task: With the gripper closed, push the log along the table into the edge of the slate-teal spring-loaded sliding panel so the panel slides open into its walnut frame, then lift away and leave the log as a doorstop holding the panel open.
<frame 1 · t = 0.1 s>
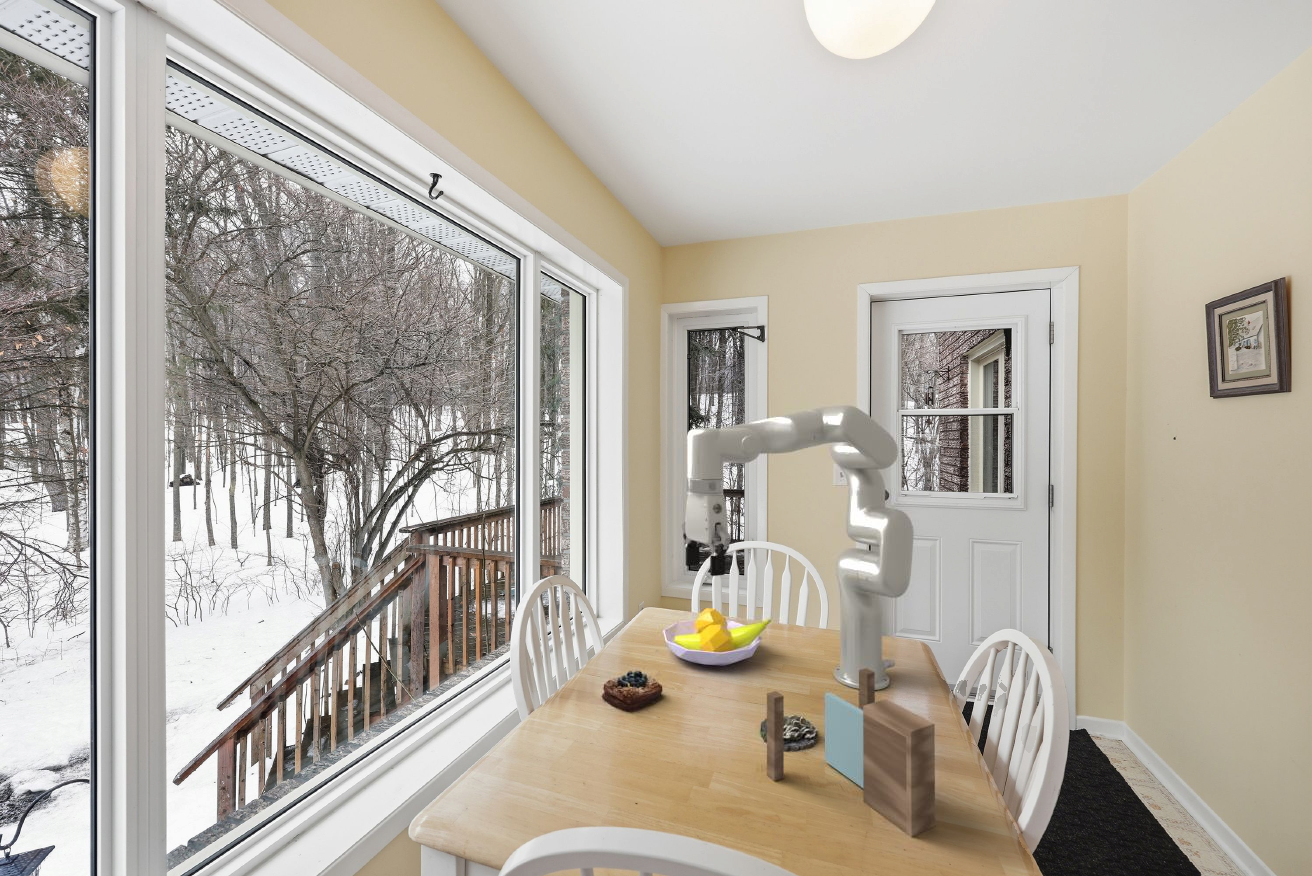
hand: (704, 570, 112), 31 cm above the table, tool pointing down, fingers open, 9 cm apart
pastry: (632, 699, 122), on the table
fruit bowl: (715, 657, 146), on the table
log: (788, 738, 106), on the table
door panel: (848, 739, 93), point 7 cm above the table, slide at 0.0 cm
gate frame: (860, 786, 90), on the table
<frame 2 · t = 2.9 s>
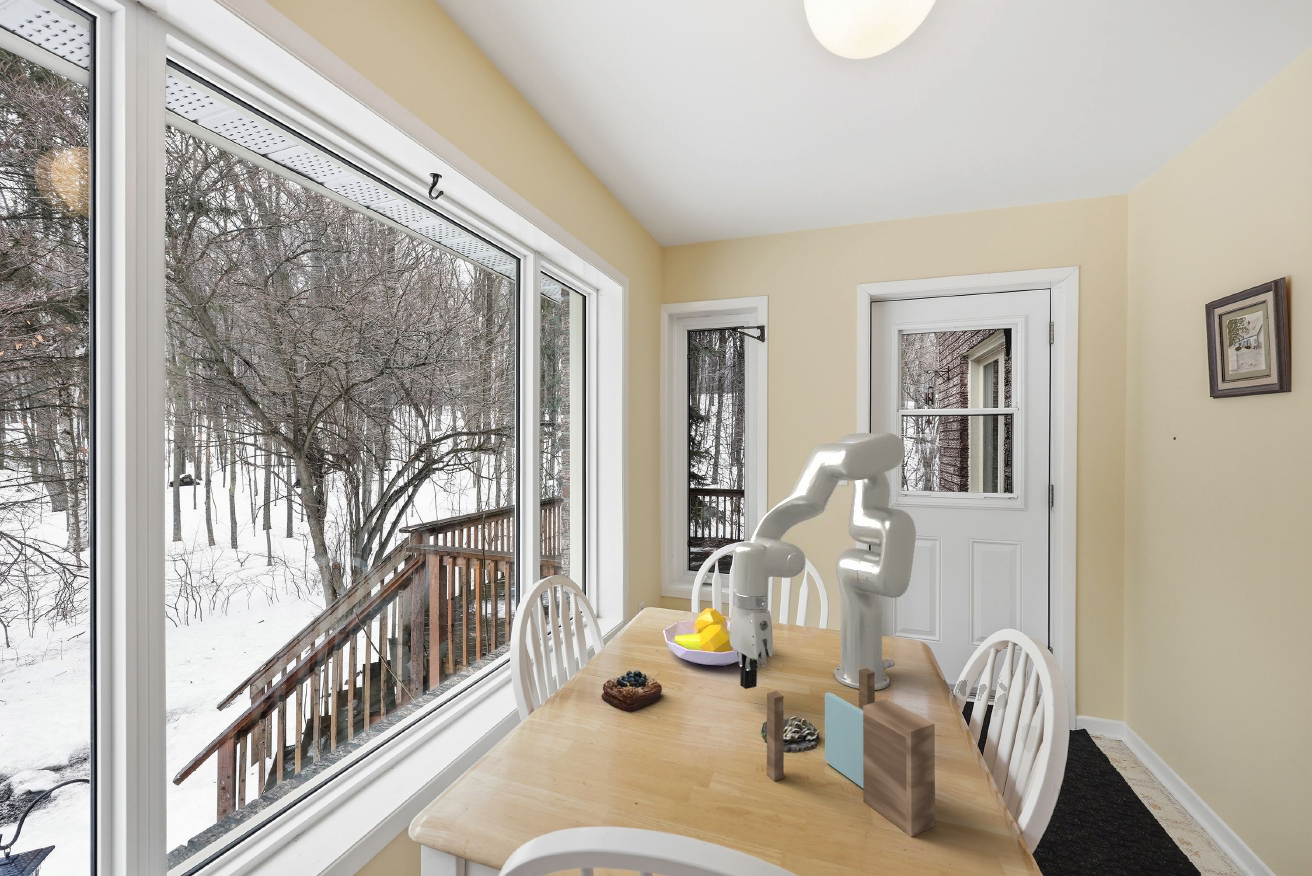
hand: (748, 686, 117), 5 cm above the table, tool pointing down, fingers closed
nothing on the table moved.
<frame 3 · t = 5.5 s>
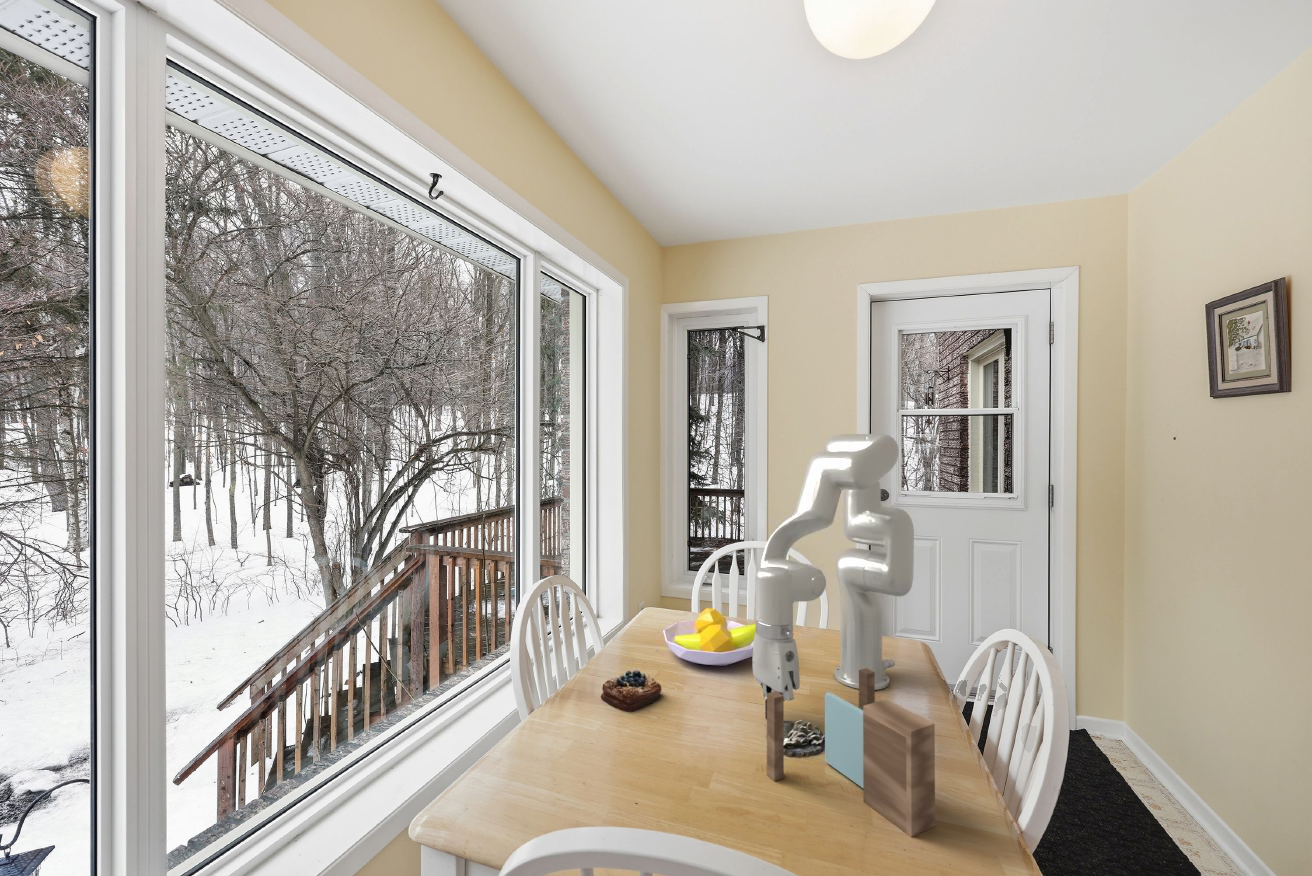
hand: (774, 719, 110), 1 cm above the table, tool pointing down, fingers closed
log: (795, 743, 104), on the table
everything else where it was.
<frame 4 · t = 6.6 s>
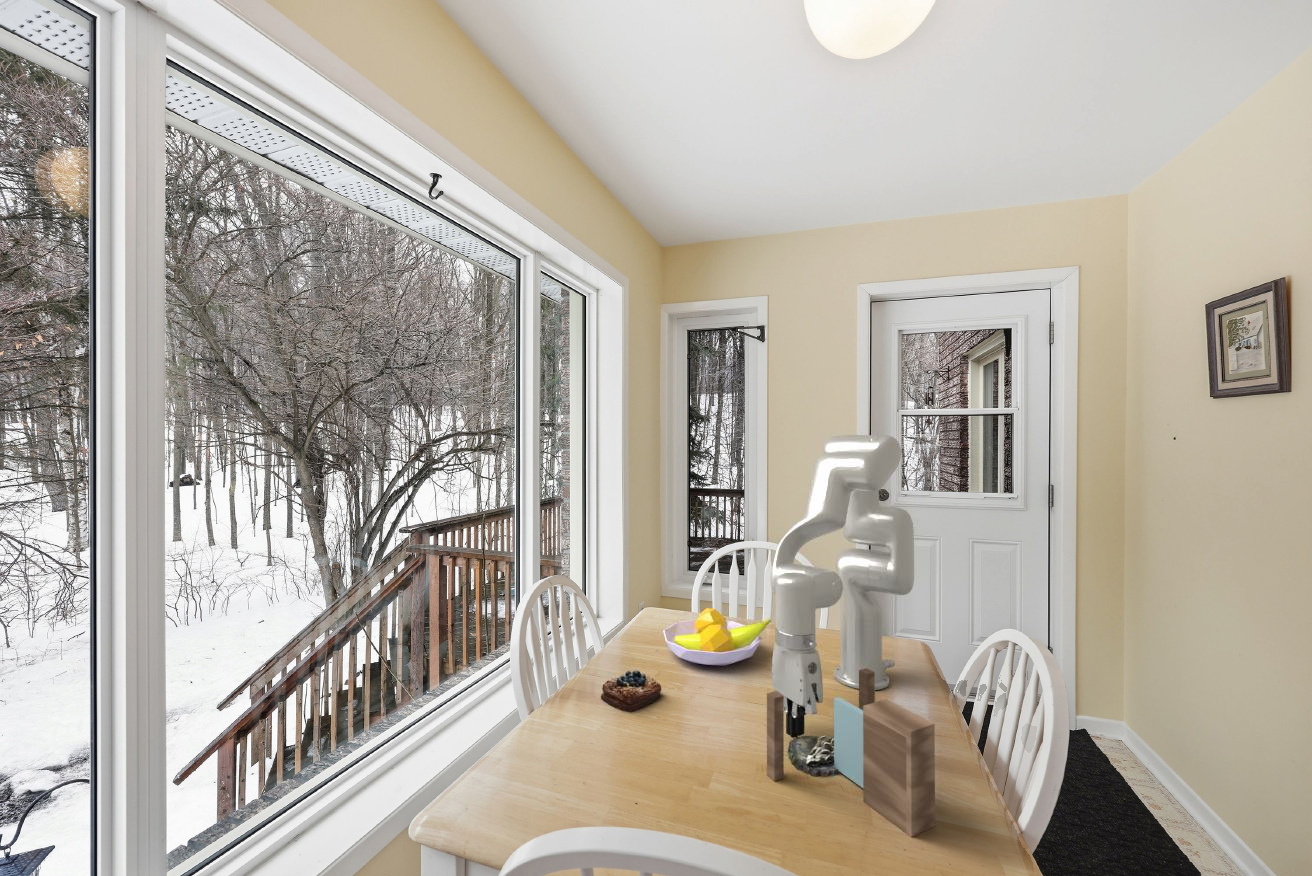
hand: (795, 734, 104), 1 cm above the table, tool pointing down, fingers closed
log: (818, 760, 99), on the table
door panel: (858, 746, 91), point 7 cm above the table, slide at 2.2 cm
everything else where it was.
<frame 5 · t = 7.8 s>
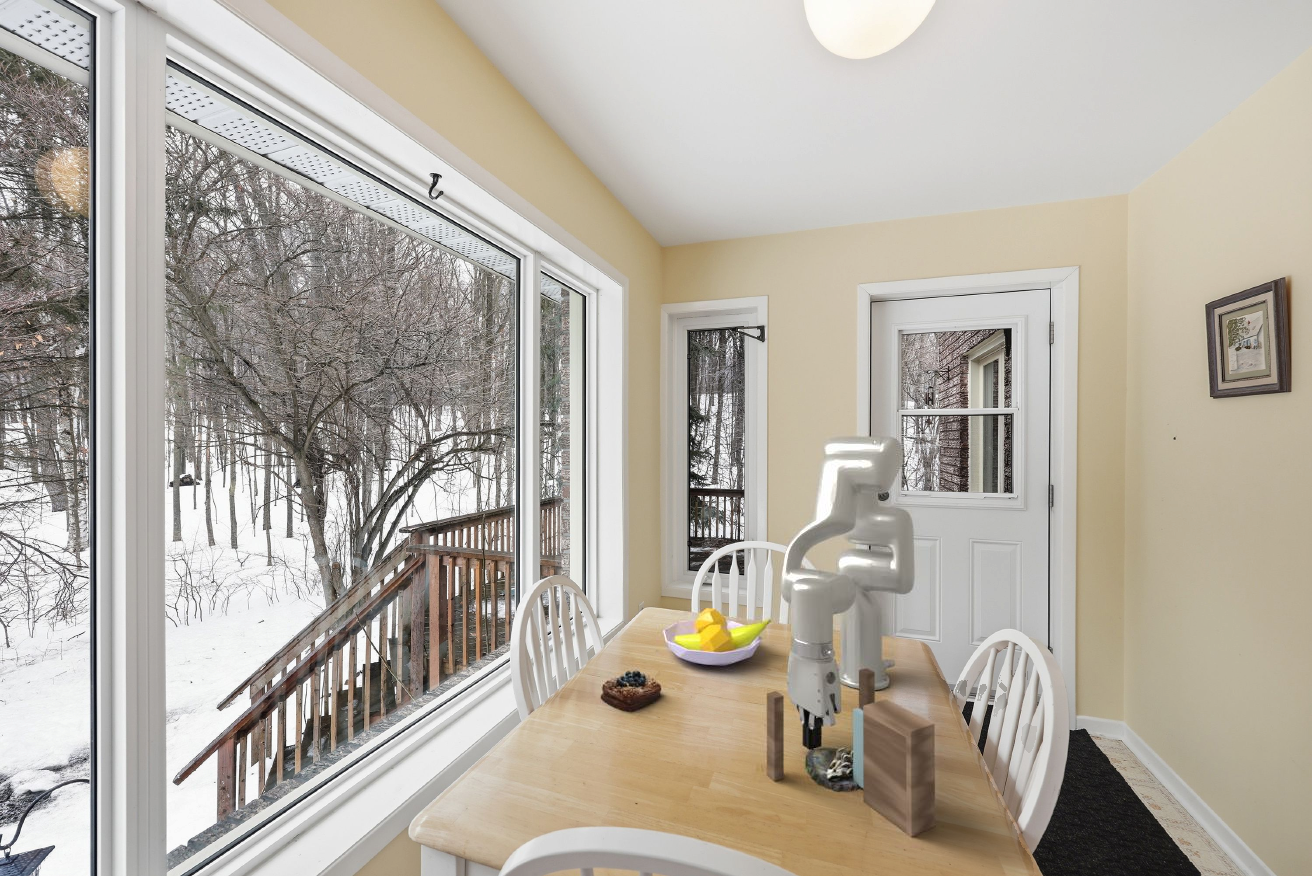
hand: (812, 745, 100), 1 cm above the table, tool pointing down, fingers closed
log: (837, 774, 95), on the table, touching gripper
door panel: (880, 759, 87), point 7 cm above the table, slide at 6.5 cm
everything else where it was.
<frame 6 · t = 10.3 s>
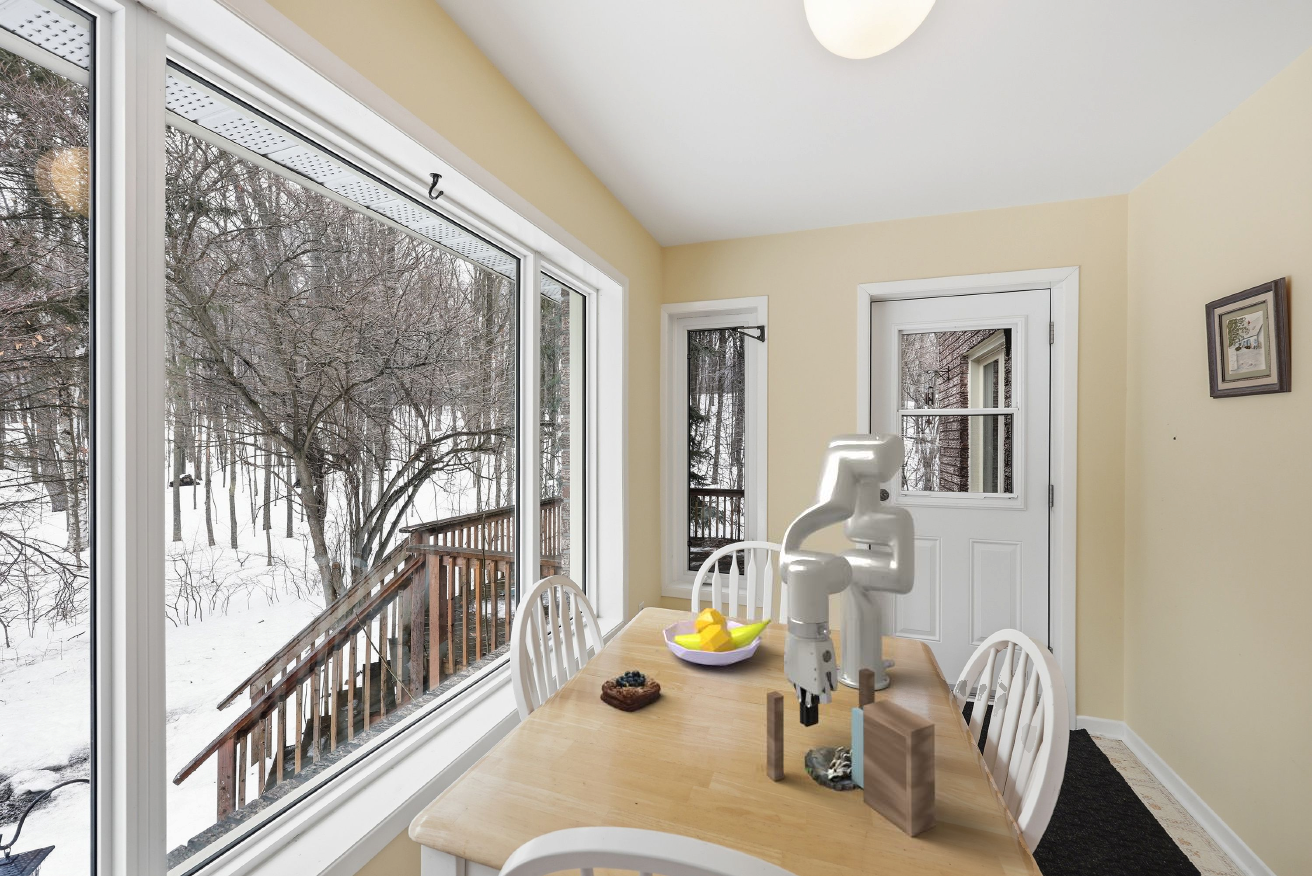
hand: (809, 723, 102), 4 cm above the table, tool pointing down, fingers closed
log: (836, 773, 95), on the table, touching door panel
door panel: (878, 758, 87), point 7 cm above the table, slide at 6.2 cm, touching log
everything else where it was.
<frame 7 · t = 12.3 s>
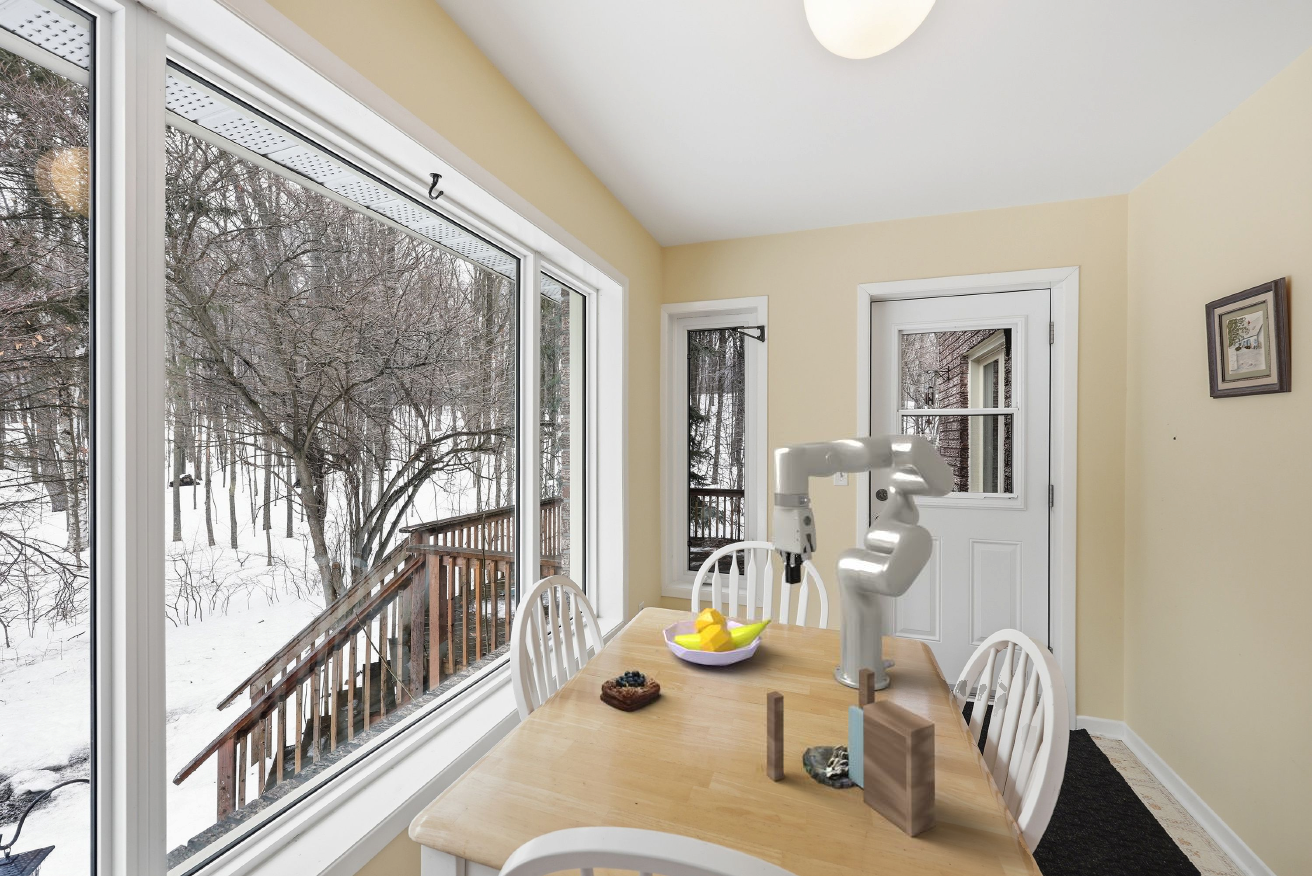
hand: (793, 582, 121), 26 cm above the table, tool pointing down, fingers closed
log: (834, 771, 95), on the table
door panel: (875, 756, 88), point 7 cm above the table, slide at 5.6 cm
everything else where it was.
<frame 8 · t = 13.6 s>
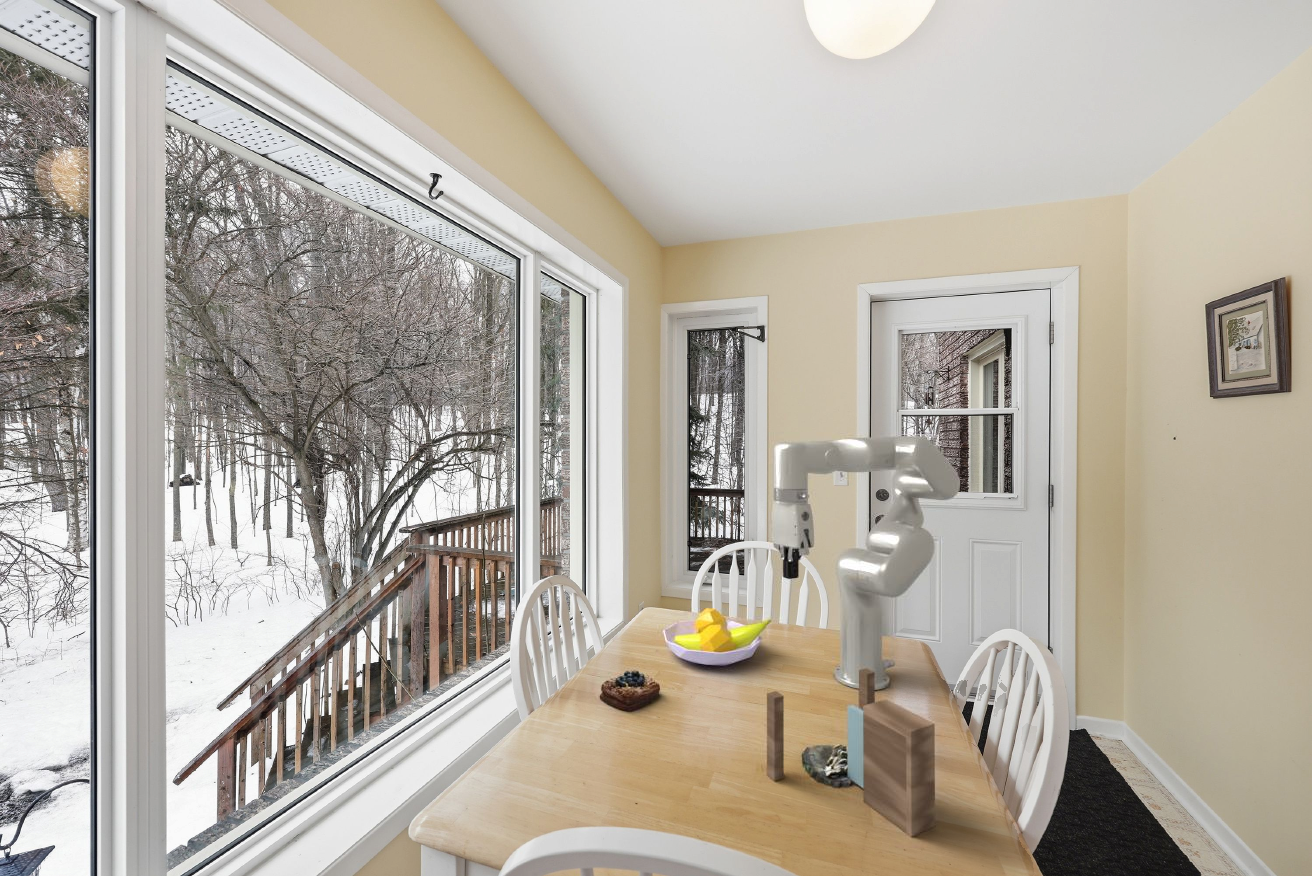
hand: (790, 577, 122), 27 cm above the table, tool pointing down, fingers closed
nothing on the table moved.
at the end: door panel slide at 5.2 cm; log 8.8 cm from the door panel (horizontally); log inside the target area (0.9 cm from its centre), on the table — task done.
